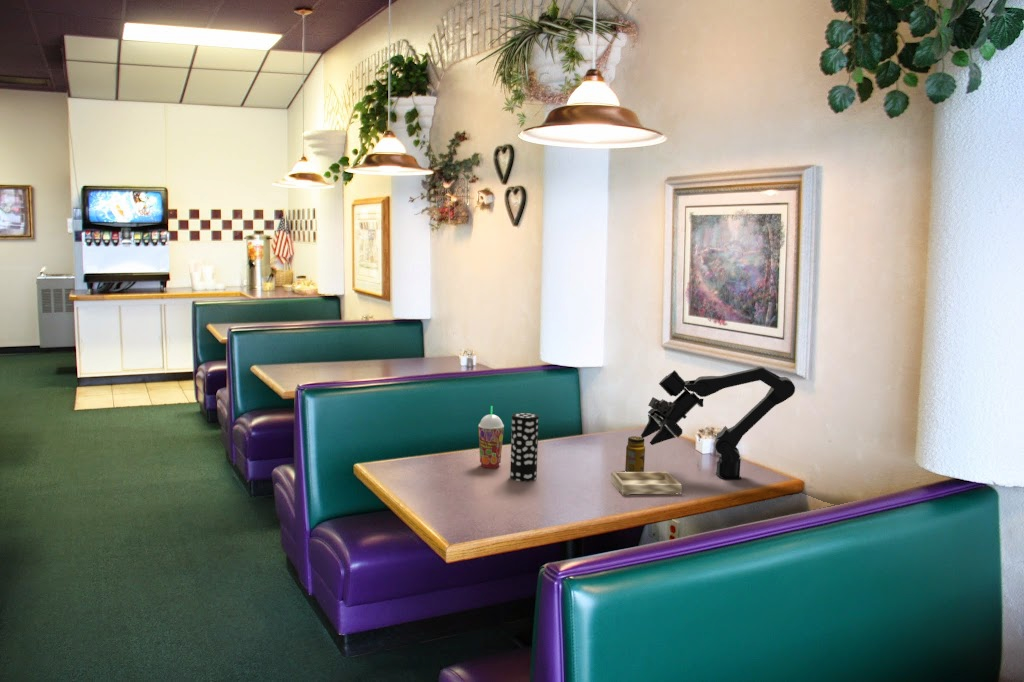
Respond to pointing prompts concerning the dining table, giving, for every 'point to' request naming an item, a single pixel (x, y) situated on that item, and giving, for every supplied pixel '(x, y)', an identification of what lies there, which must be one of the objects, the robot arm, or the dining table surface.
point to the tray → (645, 483)
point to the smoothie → (490, 440)
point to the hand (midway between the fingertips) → (646, 440)
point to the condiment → (635, 455)
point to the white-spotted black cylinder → (524, 446)
